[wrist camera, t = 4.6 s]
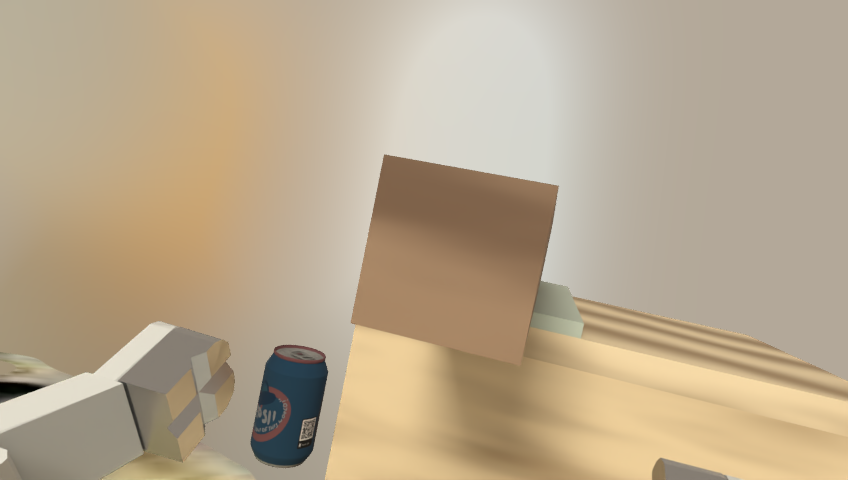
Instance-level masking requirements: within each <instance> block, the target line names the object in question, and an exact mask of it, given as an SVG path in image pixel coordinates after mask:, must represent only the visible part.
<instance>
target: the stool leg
mask: <svg viewBox="0 0 848 480" xmlns="http://www.w3.org/2000/svg"><path fill="white" fill-rule="evenodd" d="M557 193H558V186H556V185H551V184H546V183H540V182H534V181H528V180H523V179H518V178H511V177H506V176H501V175H495V174H490V173H484V172H478V171H473V170H467V169H461V168H456V167H451V166H445V165H440V164H434V163H429V162H423V161H417V160H412V159H406V158H401V157H395V156H389V155H384V158H383V163H382V168H381V173H380V178H379V183H378V188H377V193H376V198H375V204H374V208H373V214H372V218H371V223H370V228H369V233H368V239H367V244H366V249H365V254H364V259H363V264H362V269H361V274H360V279H359V284H358V289H357V294H356V299H355V304H354V309H353V314H352V319H351V323H352V324H356V325H360V326H364V327H368V328H372V329H376V330H380V331H384V332H388V333H391V334H395V335H399V336H403V337H407V338H411V339H415V340H419V341H423V342H427V343H431V344H435V345H439V346H443V347H447V348H451V349H455V350H459V351H463V352H467V353H471V354H475V355H479V356H483V357H487V358H491V359H495V360H499V361H503V362H507V363H511V364H515V365H519V366H521V362H522V358H523V354H524V350H525V345H526V341H527V337H528V333H529V328H530V324H531V320H532V316H533V311H534V307H535V303H536V298H537V294H538V290H539V286H540V281H541V276H542V271H543V266H544V262H545V257H546V252H547V248H548V242H549V238H550V233H551V229H552V224H553V217H554V211H555V205H556V199H557Z"/></svg>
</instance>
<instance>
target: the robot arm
mask: <svg viewBox="0 0 848 480" xmlns="http://www.w3.org/2000/svg"><path fill="white" fill-rule="evenodd" d="M230 355H231V353H230V349H229V344H228V342H226V341H224V340H221V339H218V338H215V337H212V336H208V335H205V334H202V333H198V332H195V331H192V330H189V329H185V328H182V327H178V326H174V325H171V324H167V323H164V322H160V321H158V322H155V323H152V324H150V325H148V326H147V327H146V328H145V329H144V330H143V331H142V332H140V333H139V334H138V335H137V336H136V337H135V338H134V339H133V340H131V341H130V342H129V343H128V344H127V345H126V346H124V348H122V349H121V350H120V351H119V352H118V353H116V354H115V355H114V356H113V357H112V358H111V359H109V360H108V361H107V362H106V363H105V364H104V365H103V366H102V367H100V368H99V369H98V370H97V371H96V372H95V373H93V374H91V373H87V372H86V373H83V374H80V375H77V376H74V377H72V378H69V379H66V380H64V381H61V382H58V383H55V384H53V385H50V386H47V387H44V388H42V389H39V390H36V391H33V392H31V393H28V394H25V395H23V396H20V397H17V398H14V399H12V400H9V401H6V402H3V403H1V404H0V480H100V479H101V478H103V477H105V476H107V475H108V474H110V473H112V472H113V471H115V470H117V469H119V468H120V467H122V466H124V465H125V464H127V463H129V462H130V461H132V460H134V459H136V458H137V457H139V456H141V455H142V454H144V451H146V452H149V453H152V454H156V455H159V456H162V457H166V458H169V459H173V460H176V461H179V462H184V461H185V460H186V458H187V457H188V456H189V454H190V453H191V452H192V451H193V449H194V448H195V447H196V446H197V444H198V443H199V442H200V441H201V439H202V438H203V437H204V436H205V424H206V423H208V422H210V421H213V420H215V419H217V418H218V417H220V415H221V414H222V412H223V411H224V410H225V409H226V407H227V406H228V404H229V401H230V399H231V396H232V394H233V391H234V383H235V379H234V372H233V370H232V369H231V368H230V367H229V365H228V364H227V363H226V360H227V359H228V358H229V357H230ZM652 480H743V479H740V478H736V477H732V476H728V475H723V474H722V473H718V472H714V471H710V470H707V469H703V468H699V467H695V466H691V465H687V464H683V463H680V462H676V461H672V460H668V459H664V458H659V459H658V460H657V461H656V463H655V465H654V468H653V470H652Z"/></svg>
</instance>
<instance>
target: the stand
mask: <svg viewBox="0 0 848 480" xmlns="http://www.w3.org/2000/svg"><path fill="white" fill-rule="evenodd" d="M573 300H574V302H575V304H576V306H577V309H578V311H579V313H580V315H581V318H582V320H583V322H584V326H583V331H582V335H581V339H580V338H576V337H572V336H567V335H563V334H559V333H555V332H550V331H546V330H542V329H538V328H533V327H530V328H529V333H528V337H527V341H526V345H525V350H524V354H523V358H522V362H521V366H519V365H515V364H511V363H507V362H503V361H499V360H495V359H491V358H487V357H483V356H479V355H475V354H471V353H467V352H463V351H459V350H455V349H451V348H447V347H443V346H439V345H435V344H431V343H427V342H423V341H419V340H415V339H411V338H407V337H403V336H399V335H395V334H391V333H388V332H384V331H380V330H376V329H372V328H368V327H364V326H360V325H355V330H354V336H353V340H352V346H351V351H350V356H349V361H348V365H347V371H346V376H345V381H344V386H343V391H342V396H341V401H340V406H339V411H338V416H337V421H336V426H335V431H334V436H333V441H332V446H331V451H330V456H329V461H328V466H327V471H326V476H325V480H652V470H653V468H654V465H655V463H656V461H657V460H658V459H659V458H664V459H668V460H672V461H676V462H680V463H683V464H687V465H691V466H695V467H699V468H703V469H707V470H710V471H714V472H718V473H722V474H723V475H728V476H732V477H736V478H740V479H743V480H848V381H846V380H844V379H842V378H840V377H838V376H835V375H833V374H831V373H829V372H827V371H825V370H822V369H820V368H818V367H816V366H814V365H812V364H809V363H807V362H805V361H803V360H801V359H798V358H796V357H794V356H792V355H789V354H787V353H785V352H783V351H781V350H779V349H776V348H774V347H772V346H770V345H768V344H766V343H764V342H761V341H759V340H757V339H755V338H753V337H750V336H748V335H744V334H740V333H736V332H731V331H727V330H722V329H717V328H713V327H708V326H704V325H699V324H695V323H690V322H686V321H681V320H676V319H672V318H668V317H663V316H659V315H653V314H649V313H645V312H640V311H636V310H631V309H627V308H622V307H618V306H613V305H608V304H604V303H600V302H595V301H591V300H585V299H581V298H577V297H573Z"/></svg>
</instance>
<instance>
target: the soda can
mask: <svg viewBox="0 0 848 480" xmlns="http://www.w3.org/2000/svg"><path fill="white" fill-rule="evenodd" d="M325 358H326V356H325V354H324V353H322V352H321V351H318V350H316V349H313V348H309V347H304V346H297V345H281V346H278V347H276V348H275V349H274V353H273V354H272V356H271V357H270V358H269V360H268V361H267V362H266V365H265V371H264V376H263V381H262V386H261V391H260V396H259V402H258V407H257V412H256V417H255V422H254V427H253V432H252V437H251V447H252V450H253V452H254V454H255V457H256V459H258V461H260V462H262V463H264V464H266V465H268V466H272V467H279V468H290V467H295V466H298V465H300V464H302V463H303V462H304V461H305V459H307V457H308V456H309V455H310V454H311V452H312V451H313V447H314V442H315V436H316V432H317V426H318V421H319V416H320V411H321V406H322V401H323V396H324V390H325V385H326V380H327V375H328V370H327V366H326V363H325Z"/></svg>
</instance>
